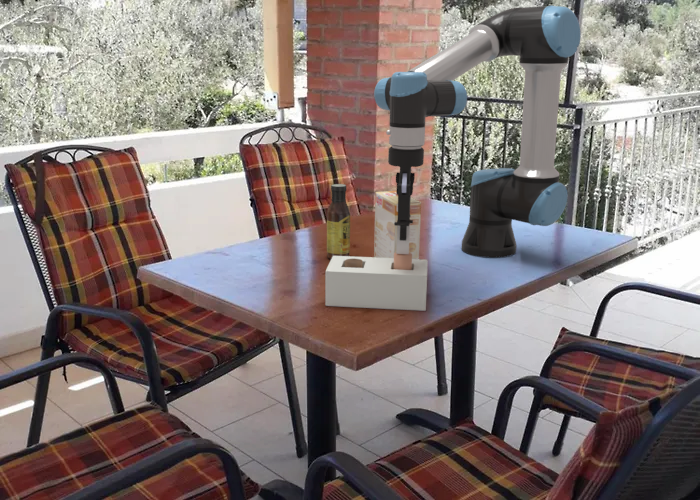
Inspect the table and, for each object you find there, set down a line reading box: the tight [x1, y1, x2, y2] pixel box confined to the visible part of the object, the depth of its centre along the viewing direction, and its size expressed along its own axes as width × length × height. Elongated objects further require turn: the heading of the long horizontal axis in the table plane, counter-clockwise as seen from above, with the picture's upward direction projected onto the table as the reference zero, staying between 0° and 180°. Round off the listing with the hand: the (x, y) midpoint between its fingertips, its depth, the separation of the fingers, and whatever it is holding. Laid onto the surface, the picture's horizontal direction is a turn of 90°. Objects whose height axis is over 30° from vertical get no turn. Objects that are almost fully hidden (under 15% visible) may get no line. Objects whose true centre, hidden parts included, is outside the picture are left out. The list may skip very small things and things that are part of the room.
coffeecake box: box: [373, 190, 422, 259], centre depth 178 cm, size 15×7×20 cm, turn 17°
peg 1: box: [345, 259, 363, 268], centre depth 160 cm, size 4×4×8 cm
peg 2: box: [394, 253, 412, 270], centre depth 158 cm, size 4×4×8 cm
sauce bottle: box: [326, 183, 351, 260], centre depth 189 cm, size 7×6×20 cm
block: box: [324, 255, 429, 312], centre depth 160 cm, size 22×12×8 cm, turn 83°
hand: (402, 253), depth 157 cm, fingers closed
